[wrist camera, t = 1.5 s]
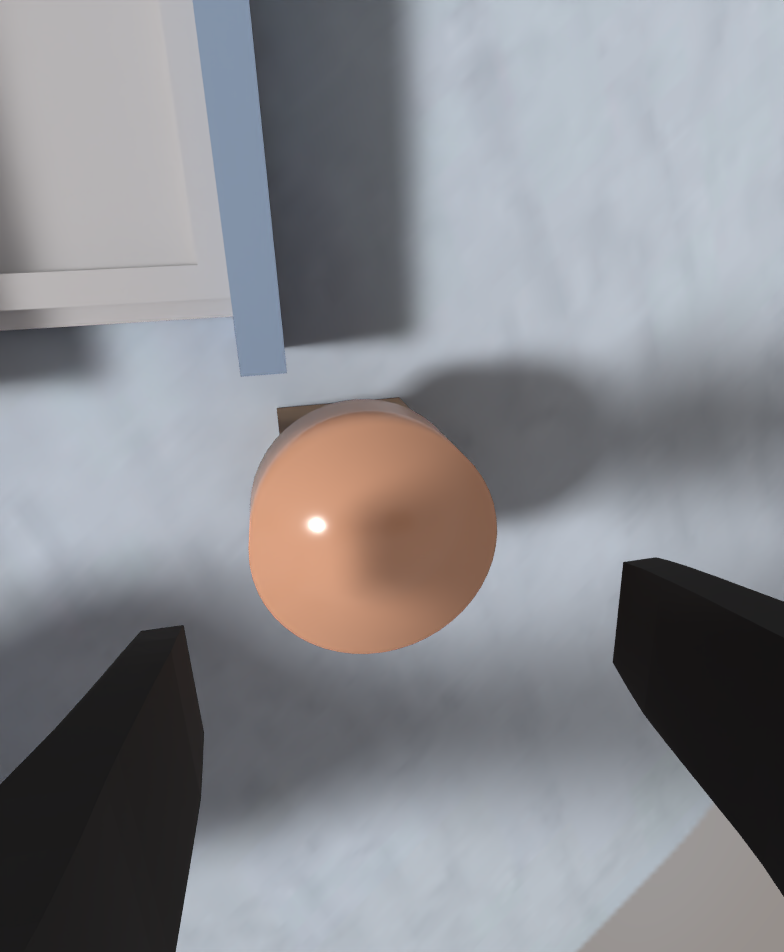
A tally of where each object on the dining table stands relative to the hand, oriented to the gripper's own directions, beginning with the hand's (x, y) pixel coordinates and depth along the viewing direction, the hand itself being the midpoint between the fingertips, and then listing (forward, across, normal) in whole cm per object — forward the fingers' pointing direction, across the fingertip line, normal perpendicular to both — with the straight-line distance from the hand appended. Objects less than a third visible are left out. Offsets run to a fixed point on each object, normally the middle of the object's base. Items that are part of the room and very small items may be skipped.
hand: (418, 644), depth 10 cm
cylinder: (+6, 0, 0) cm, 6 cm away
